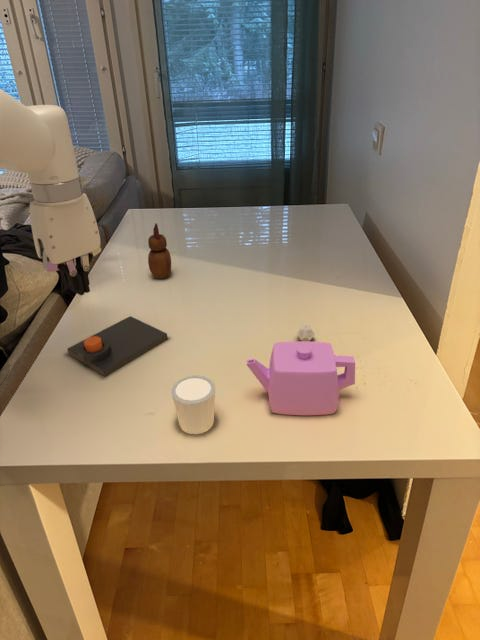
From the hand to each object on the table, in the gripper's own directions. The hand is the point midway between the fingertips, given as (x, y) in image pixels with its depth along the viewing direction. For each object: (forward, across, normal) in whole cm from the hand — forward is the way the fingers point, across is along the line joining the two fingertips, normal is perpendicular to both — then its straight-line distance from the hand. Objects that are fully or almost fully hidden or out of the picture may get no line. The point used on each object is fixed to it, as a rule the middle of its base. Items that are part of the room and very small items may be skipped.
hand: (81, 291), depth 84 cm
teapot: (+15, -15, +38) cm, 43 cm away
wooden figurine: (+15, -34, -18) cm, 41 cm away
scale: (+15, -6, 0) cm, 16 cm away
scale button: (+13, 0, 0) cm, 13 cm away
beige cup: (+15, 0, +28) cm, 32 cm away
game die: (+15, -30, +29) cm, 45 cm away
